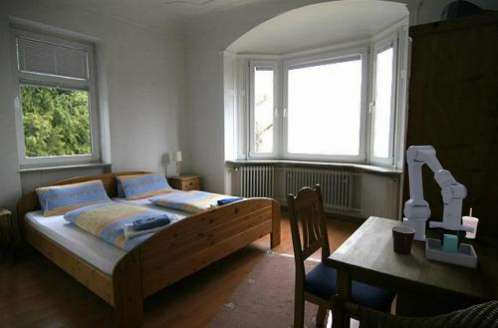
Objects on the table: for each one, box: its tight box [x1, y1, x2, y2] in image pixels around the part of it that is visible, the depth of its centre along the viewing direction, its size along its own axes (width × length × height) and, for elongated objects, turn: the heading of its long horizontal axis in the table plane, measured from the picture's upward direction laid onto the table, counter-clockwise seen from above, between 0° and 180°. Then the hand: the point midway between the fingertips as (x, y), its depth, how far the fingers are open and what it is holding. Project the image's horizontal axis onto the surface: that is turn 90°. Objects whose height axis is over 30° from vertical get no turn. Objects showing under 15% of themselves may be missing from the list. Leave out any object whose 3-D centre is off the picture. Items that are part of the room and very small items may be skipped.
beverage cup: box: [461, 207, 479, 239], centre depth 135 cm, size 6×6×14 cm
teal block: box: [442, 233, 458, 254], centre depth 114 cm, size 4×4×6 cm
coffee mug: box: [391, 225, 415, 256], centre depth 118 cm, size 12×9×10 cm
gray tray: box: [425, 237, 479, 269], centre depth 115 cm, size 16×14×4 cm
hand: (449, 246), depth 114 cm, fingers closed on teal block, 4 cm apart
